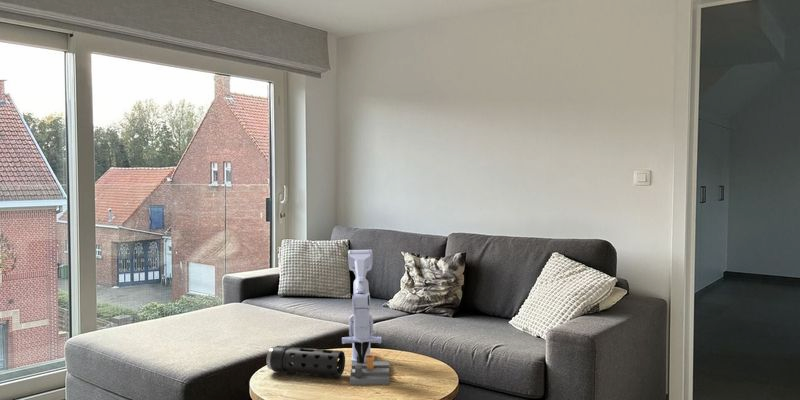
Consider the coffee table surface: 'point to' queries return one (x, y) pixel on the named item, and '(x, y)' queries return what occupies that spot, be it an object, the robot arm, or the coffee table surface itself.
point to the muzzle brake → (306, 361)
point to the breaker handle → (370, 361)
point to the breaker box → (369, 373)
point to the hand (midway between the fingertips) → (361, 362)
